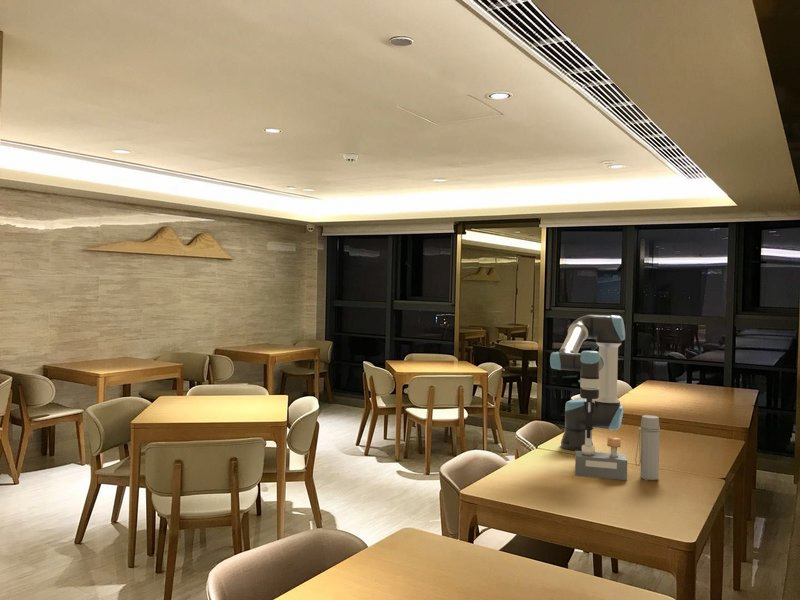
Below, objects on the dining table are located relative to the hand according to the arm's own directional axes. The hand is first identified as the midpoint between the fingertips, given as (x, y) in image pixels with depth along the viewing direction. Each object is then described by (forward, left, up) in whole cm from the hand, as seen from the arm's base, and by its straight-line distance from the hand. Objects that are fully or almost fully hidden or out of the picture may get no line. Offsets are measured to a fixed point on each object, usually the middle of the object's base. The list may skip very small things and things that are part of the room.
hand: (588, 445), depth 265 cm
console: (0, +5, -12) cm, 13 cm away
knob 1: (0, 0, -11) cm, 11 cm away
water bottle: (-1, +23, -12) cm, 26 cm away
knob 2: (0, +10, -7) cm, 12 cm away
